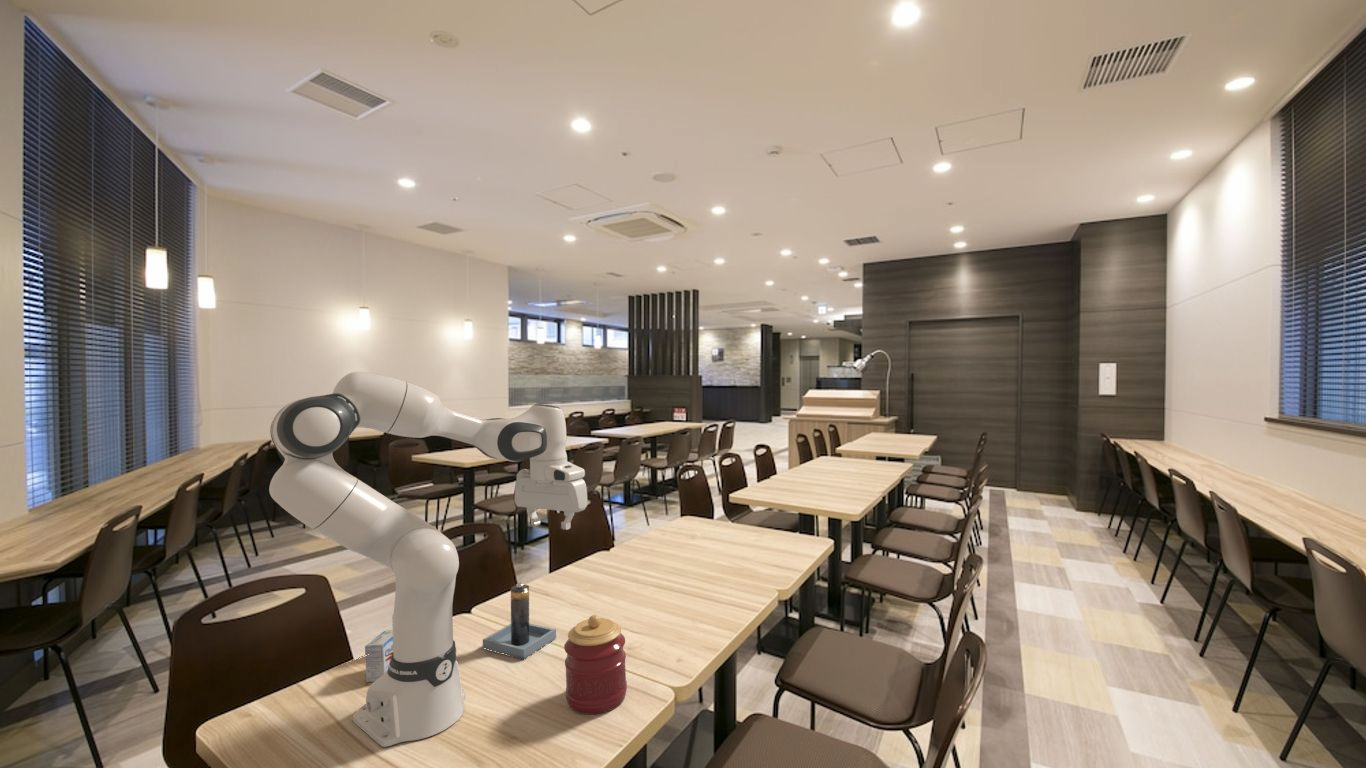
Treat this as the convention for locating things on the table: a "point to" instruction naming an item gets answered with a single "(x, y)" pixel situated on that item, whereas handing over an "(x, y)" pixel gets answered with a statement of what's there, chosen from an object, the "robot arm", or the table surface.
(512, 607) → the battery cell
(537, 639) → the tray
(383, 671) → the medicine box
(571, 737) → the table surface
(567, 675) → the canister
